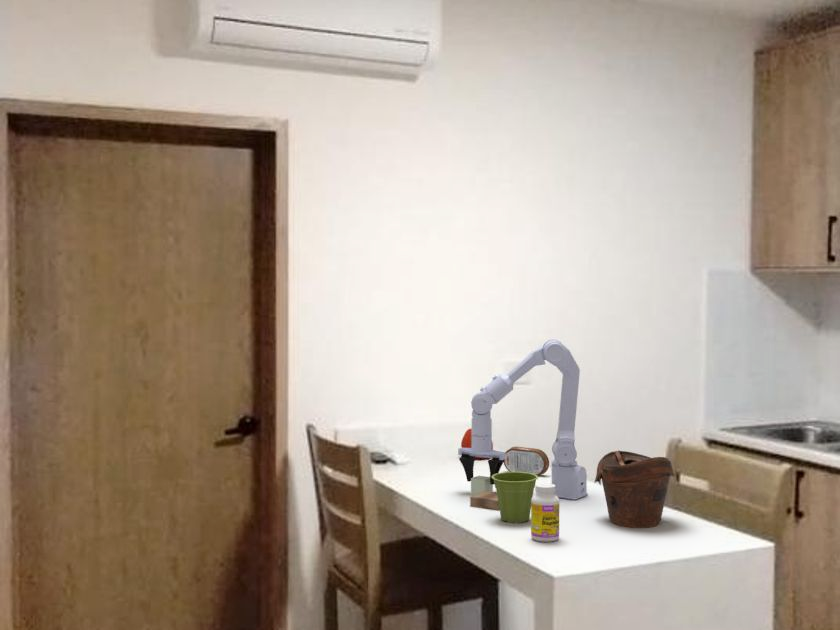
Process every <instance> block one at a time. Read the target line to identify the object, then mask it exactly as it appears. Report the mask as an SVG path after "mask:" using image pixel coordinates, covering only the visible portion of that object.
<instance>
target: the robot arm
mask: <svg viewBox="0 0 840 630" xmlns="http://www.w3.org/2000/svg"><path fill="white" fill-rule="evenodd" d="M546 362H548V363H549V364H551V365H553V366H554V367H556V368H557V369H558V370H559V372H561V374H562V379H561V390H560V392H561V393H560V402H559V414H558V423H557V424H558V427H557V432H556V439H555V441H554V442H553V444H552V448H551V451H552V453H553V456H554V459H553V460H552V461H551V484H554V485H555V492H554V495H556V496H557V497H558V498H559V499H567V500H575V501H576V500H579V499H581V498H583V497H586V496H588V495H589V494H588V492H587V491H588V490H587V488H588V487H587V483H588V482H587V476H588V475H587V474H588V473H587V469H586V468H585V466H582V465H578V461H577V460H576V459H577V455H578V454H577V453H578V451H577V449H576V446H575V440H576V439H575V427H576V417H577V408H578V407H577V406H578V395H579V394H578V393H579V387H580V386H579V384H580V374H581V373H580V372H581V369H580V367H579V365H578V364H577V362H576V360H575V358H574V356H573V355H572V352H571V351H570V349H569V348H567V346H565V345H564V344H563V343H562V342H561V341H559V340H557V339H552V338H551V339H549V340H547V341H546V342H544V343H543V344H542V345H540V346H538V347H537V348H535V349H534V350H532V351H531V352H530V353H529V354H527V355H526V356H525V357H524V358H523V359H522V360H521V361H519V362H518V364H517V365H516V366H514V367H513V368H512V369H511V370H510V371H509V372H508V373H506V374H504V373H503V374H502V373H500V374H499V375H494V376H493V377H492V380H491V381H490V382H489V383H488V384H486V386H485V387H480V388H479V391H480V392H477V393H475V394H474V395H473V396H472V399H471V402H470V403H471V408H472V412H471V416H472V418H471V429H472V448H461V447H458V448H457V450H458V451H457V452H458V453H457V455H458V456H459V458H458V459H459V461H460V464H461V465H462V467H463V469H464V473H465V477H466V481H467V482H470V483H471V478H473V477H474V465H475V460H476V459H475V456H476V457H484V459H488V460H487V462H488V469H489V477H490V484H491V485H493V486H494V485H495V484H494V480H493V479H492V475H494V474H497V473H500V471H501V468H502V467H503V465H504V459H506V451H505V452H504V451H500V450H494V449H493V450H492V443H493V439H492V431H493V430H492V429H493V427H492V424H493V423H492V422H493V421H492V420H493V419H492V417H491V416H492V414H491V413H492V412H491V411H492V409H493V405H495V404H498V403H499V402H501V401H502V400H503V398H505V397H506V396H507V395H509V394H510V393H511V392H512V391H513V390H514V384H515V383H516V382H517V381H518V380H519V379H521V378H522V377H523V376H525V375H526V374H527V373H529V372H530V371H531V370H532V369H533V368H535V367H537V366H542V365H546Z"/></svg>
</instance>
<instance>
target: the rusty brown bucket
mask: <svg viewBox="0 0 840 630" xmlns="http://www.w3.org/2000/svg"><path fill="white" fill-rule="evenodd" d="M671 477H674V478H675V472H674V468H673V466H672V462H671V460H669V458H668V457H666V456H656V457H650V456H647V455H643V454H640V453H636V452H632V451H627V450H615V451H609V452H608V453H606V454H605V455H603V457H602V458H601V459H600V460H599V461H598V463H597V467H596V474H595V478H594V479H595V480H594V484H595V483H598V484H599V485H600V486H601V483H602V487H603V493H604V497H605V501H606V502H605V503H606V507H607V514H608V518H609V521H611V523H613V524H615V525H619V526H623V527H627V528H628V527H629V528H640V529H641V528H642V529H643V528H651V527H656V526H658V525H660V524H661V522H662V516H663V511H664V507H665V503H666V498H667V493H668V489H669V484H670V478H671Z"/></svg>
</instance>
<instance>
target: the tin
mask: <svg viewBox="0 0 840 630" xmlns="http://www.w3.org/2000/svg"><path fill="white" fill-rule="evenodd" d="M505 452H506V459H504V462H503V465H504V467H505V469H506V470H507V472H526V473H532V474H535V475H537V476H538V477H539V476H541V475H544V474H546V472H547V471H548V470H549V467H550V459H549V457H548V455H547V453H545V451H543V450H542V449H540V448H534V447H523V446H512V447H510V448H509V449H507V450H506V451H505Z"/></svg>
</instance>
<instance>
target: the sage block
mask: <svg viewBox="0 0 840 630" xmlns="http://www.w3.org/2000/svg"><path fill="white" fill-rule="evenodd" d="M493 487H494V484H493V485H491V484H490V476H484V475H477V476H473V478H471V481H470V497H471V496H474V495H477V494H480V493H482V492H485V491H493V492H494V488H493Z"/></svg>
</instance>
